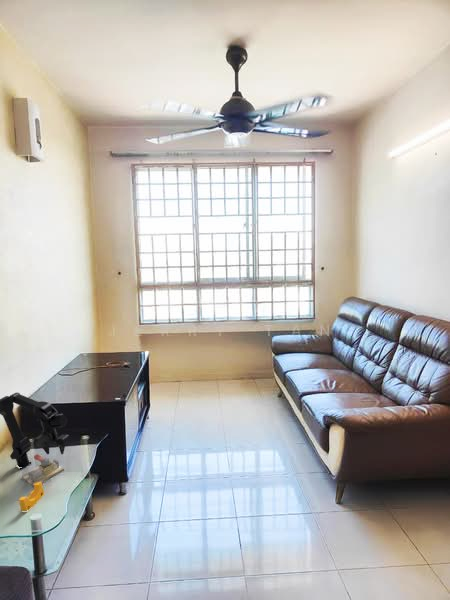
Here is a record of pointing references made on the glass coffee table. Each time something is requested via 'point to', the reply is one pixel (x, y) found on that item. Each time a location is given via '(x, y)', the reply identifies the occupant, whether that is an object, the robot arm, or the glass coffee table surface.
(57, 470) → the board
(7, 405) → the robot arm
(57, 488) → the glass coffee table surface
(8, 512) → the glass coffee table surface
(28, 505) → the pipe clamp
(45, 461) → the lever
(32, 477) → the valve body
